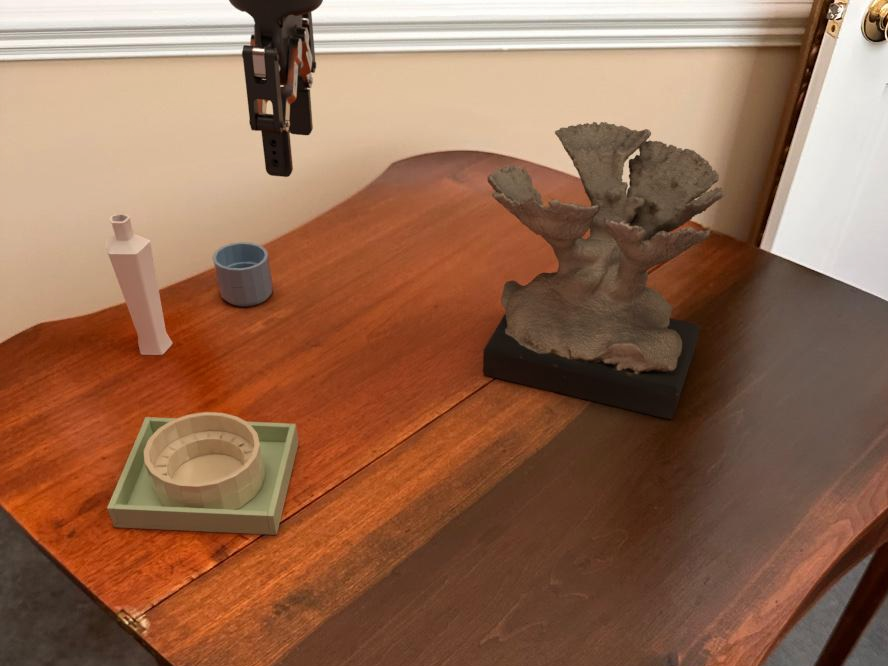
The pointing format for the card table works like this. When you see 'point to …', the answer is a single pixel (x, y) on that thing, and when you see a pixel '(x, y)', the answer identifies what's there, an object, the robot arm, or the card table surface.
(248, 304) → the blue cup
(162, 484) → the large bowl
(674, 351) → the coral
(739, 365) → the card table surface
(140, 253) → the perfume bottle
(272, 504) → the tray
